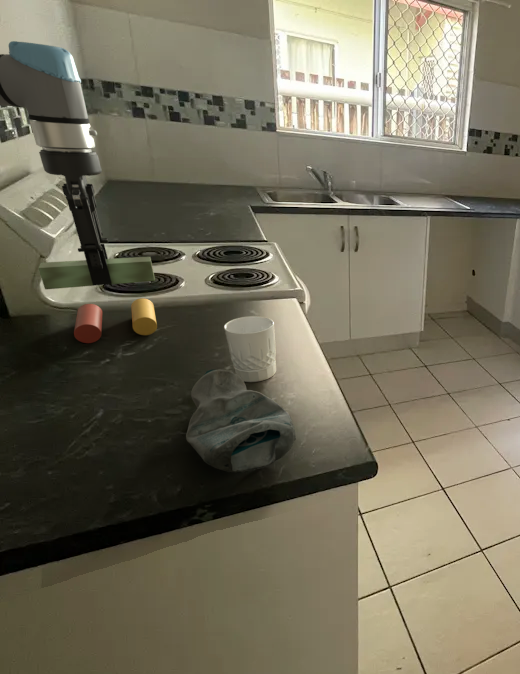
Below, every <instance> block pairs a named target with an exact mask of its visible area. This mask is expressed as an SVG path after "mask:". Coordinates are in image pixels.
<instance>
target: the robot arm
mask: <svg viewBox="0 0 520 674" xmlns="http://www.w3.org/2000/svg"><path fill="white" fill-rule="evenodd" d="M81 83H82V79H81V78H80V76H79V73H78V69H77V66H76V63H75V59H74V56H73V55H72V53H71V52H70V51H69V50H67V49H65V48H64V47H60V46H55V45H49V44H41V43H35V42H28V41H27V42H26V41H16V40H12V41H10V42H9V43H8V53H7V54H5V53H0V107H15V108H22V109H26V112H27V115H28V118H29V119H28V121H29V124H30V127H31V131H32V135H33V138H34V141H35V145H36V146H38V147H40V148H42V149H40V150H39V151H38V154H39V156H40V160H41V164H42V168H43V171H44V172H45V173H46V174H49V175H54V176H63V177H64V178H65V179H64V180H65V183H63V185H61V190H62V193H63V195H64V196H65V199H66V201H67V205H68V208H69V211H70V212H71V216H72V219H73V222H74V226H75V230H76V234H77V236H78V237H77V238H78V239H79V240H78V241H79V243H80V247H78V248H77V252H78V253H83V254H84V258H85V260H86V262H87V265H88V269H89V272H90V276H91V280H92V283H93V286H92V287H96V286H107V285H108V284H109V285H113V284H112V282H111V278H110V274H109V270H108V266H107V262H106V259H109V257H108V254H107V250H106V246H105V245H106V244H107V243H109V240H108V237H103V236H104V234H103V233H104V232H102V228H101V224H100V220H99V215H98V212H97V201H96V198H95V187H94V184H93V183H88V179H87V177H86V176H88V177H91V176H99V175H100V174H102V172H103V171H102V170H103V169H102V165H101V162H100V158H99V154H98V153H97V152H96V151H93V149H95V148H96V143H95V138H94V137H97V136H98V132H97V131H96V130H95V129H90V128H91V124H90V119H89V116H88V111H87V107H86V102H85V98H84V93H83V88H82V84H81ZM105 243H106V244H105ZM95 285H96V286H95Z"/></svg>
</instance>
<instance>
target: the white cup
mask: <svg viewBox="0 0 520 674" xmlns="http://www.w3.org/2000/svg"><path fill="white" fill-rule="evenodd" d="M223 331H224V334H225V339H226V343H227V349H228V352H229V357H230V360H231V364H232V365H233V366H232V367H233V369H234V373H235V374H236V375H238V376H239V377H240V378H241V379H242V380H243V381H244V383H245V382H246V383H257V382H263V381H266V380H268V379H270V378H272V377H273V376H275V374H276V372H277V361H276V357H277V355H276V354H277V353H276V352H277V351H276V334H275V332H276V331H275V322H274V320H273V319H271V318H269V317H266V316H260V315H259V316H258V315H257V316H256V315H251V316H241V317H237V318H234V319H231V320H229V321H228V322H226V323H225V324H224V326H223Z"/></svg>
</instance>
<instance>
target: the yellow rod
mask: <svg viewBox="0 0 520 674" xmlns="http://www.w3.org/2000/svg"><path fill="white" fill-rule="evenodd" d="M130 305H131V306H130V308H131V309H130V310H131V320H132V322H131V323H132V324H131V325H132V330H133V332H135V333H136V334H137V335H140V336H150V335H152V334H153V333H155V332H156V331H157V330H158V329H157V328H158V323H157V318H156V312H155V306H154V303H153V302H152V301H151V300H149V299H147V298H143V297H142V298H141V297H140V298H137V299H135V300H133V301H132V302H131V304H130Z"/></svg>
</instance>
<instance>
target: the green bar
mask: <svg viewBox="0 0 520 674" xmlns="http://www.w3.org/2000/svg"><path fill="white" fill-rule="evenodd" d="M106 262H107V266H108V270H109V274H110V278H111V282H112V284H111V285H119V284H120V285H121V284H132V283H145V282H147V283H148V282H155V281H156V277H155V272H154V268H153V262H152V258H151V256H137V257H136V256H135V257H118V258H117V257H116V258H108V259H106ZM38 272H39V275H40V278H41V282H42V284H43V288H44V290H56V289H57V290H58V289H68V288H83V287H96V286H97V285H95V286H93V283H92V280H91V276H90V272H89V269H88V265H87V262H86V259H83V260H82V259H81V260H64V261H47V262H40V264H39V266H38ZM108 285H110V284H108Z"/></svg>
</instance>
